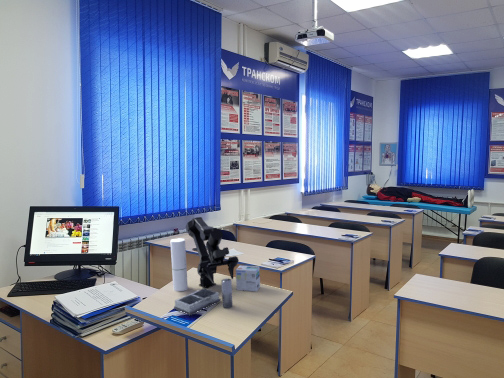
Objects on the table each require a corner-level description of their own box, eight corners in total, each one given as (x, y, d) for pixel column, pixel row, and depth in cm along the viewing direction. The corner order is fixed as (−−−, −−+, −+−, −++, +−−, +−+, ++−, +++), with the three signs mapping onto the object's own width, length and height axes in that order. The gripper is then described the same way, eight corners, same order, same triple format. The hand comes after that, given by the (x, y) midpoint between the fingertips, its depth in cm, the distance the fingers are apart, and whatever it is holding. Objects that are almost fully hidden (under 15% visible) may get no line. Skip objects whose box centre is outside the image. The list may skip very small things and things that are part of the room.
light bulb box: (260, 286, 187) (259, 266, 186) (257, 292, 181) (256, 270, 180) (240, 285, 190) (239, 264, 189) (236, 290, 184) (235, 269, 182)
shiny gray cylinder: (227, 303, 169) (226, 277, 167) (234, 305, 166) (233, 279, 165) (220, 306, 166) (219, 280, 164) (227, 309, 163) (226, 283, 161)
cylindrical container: (189, 285, 192) (186, 238, 189) (185, 291, 185) (182, 242, 182) (175, 285, 192) (172, 238, 189) (171, 291, 185) (168, 242, 182)
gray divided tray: (204, 295, 179) (203, 287, 178) (220, 301, 171) (220, 292, 171) (174, 309, 165) (173, 300, 164) (190, 315, 158) (189, 306, 157)
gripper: (197, 245, 168) (206, 276, 159) (236, 239, 175) (246, 268, 167) (193, 257, 176) (202, 287, 167) (230, 251, 183) (240, 280, 175)
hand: (223, 280), depth 169 cm, fingers open, 9 cm apart
